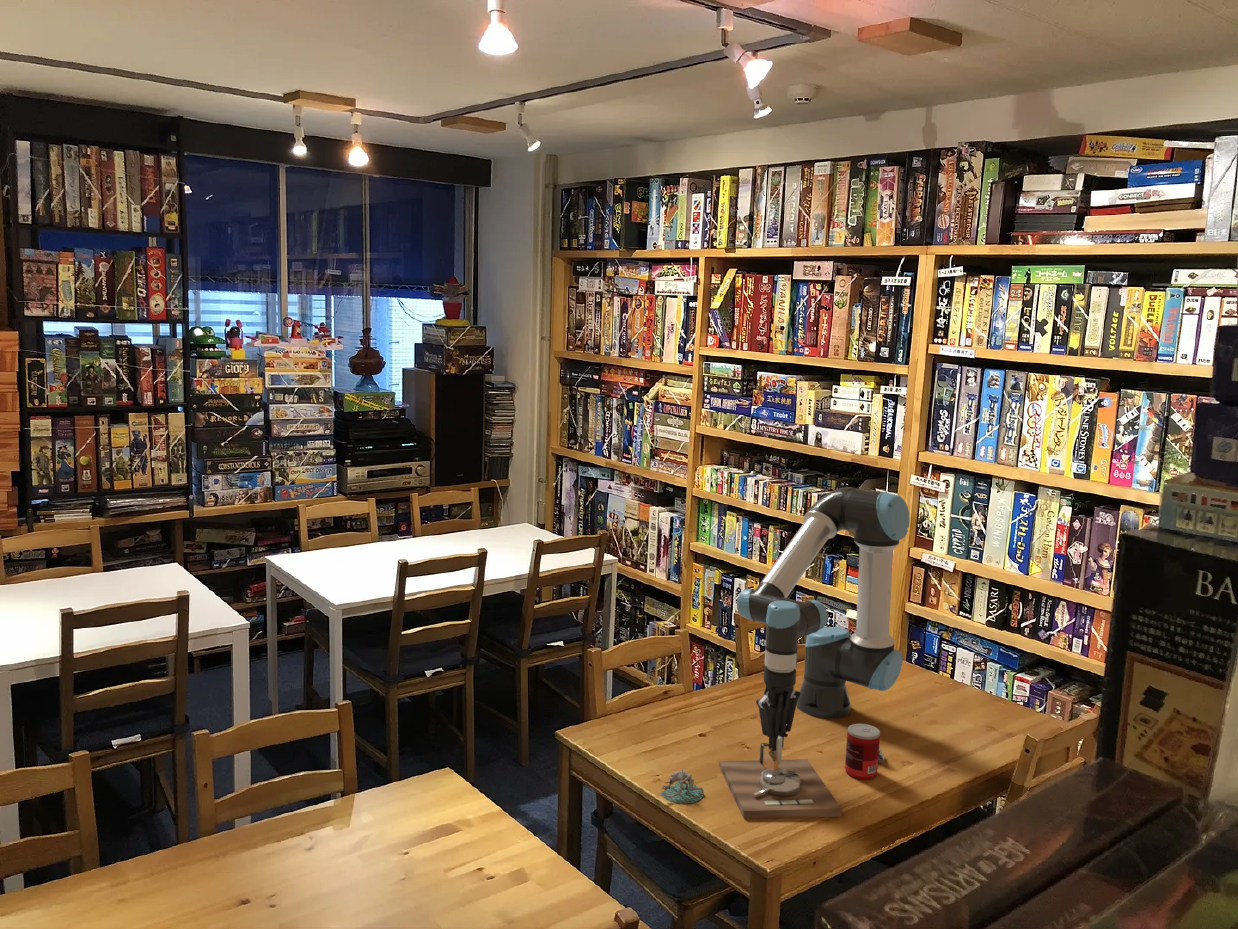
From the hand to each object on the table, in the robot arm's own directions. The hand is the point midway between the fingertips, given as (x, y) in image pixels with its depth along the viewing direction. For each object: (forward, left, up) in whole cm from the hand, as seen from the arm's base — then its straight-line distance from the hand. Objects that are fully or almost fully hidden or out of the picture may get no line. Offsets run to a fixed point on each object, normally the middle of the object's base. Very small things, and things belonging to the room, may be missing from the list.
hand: (775, 761), depth 228 cm
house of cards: (-7, +25, -4) cm, 26 cm away
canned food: (-1, +22, -4) cm, 22 cm away
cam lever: (+10, -2, -2) cm, 10 cm away
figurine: (+8, -25, -4) cm, 26 cm away
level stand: (+8, -2, -4) cm, 8 cm away
